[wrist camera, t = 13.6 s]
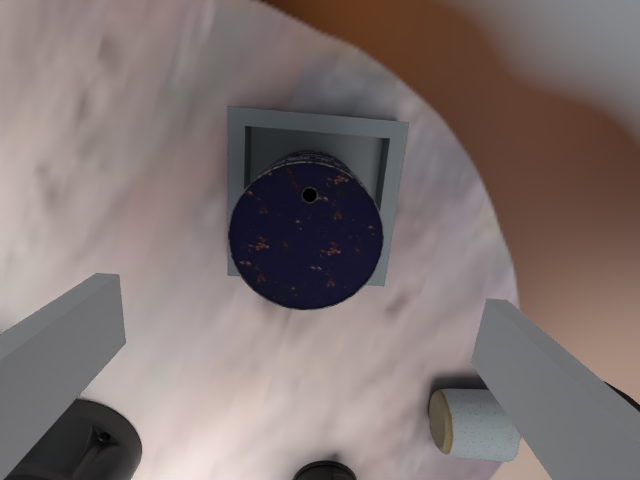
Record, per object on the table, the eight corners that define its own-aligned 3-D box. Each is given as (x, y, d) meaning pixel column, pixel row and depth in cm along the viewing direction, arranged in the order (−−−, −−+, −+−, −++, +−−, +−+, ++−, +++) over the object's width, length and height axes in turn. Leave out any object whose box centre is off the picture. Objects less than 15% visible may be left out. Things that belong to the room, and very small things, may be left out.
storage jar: (351, 246, 37) (374, 317, 23) (260, 239, 36) (226, 307, 22) (362, 152, 34) (397, 165, 20) (263, 143, 33) (226, 151, 19)
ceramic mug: (429, 375, 43) (452, 426, 36) (493, 375, 43) (529, 426, 36) (420, 438, 46) (439, 497, 39) (479, 439, 47) (509, 496, 39)
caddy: (236, 261, 38) (227, 275, 34) (237, 109, 33) (227, 106, 29) (377, 271, 39) (384, 286, 35) (398, 123, 34) (409, 122, 30)
